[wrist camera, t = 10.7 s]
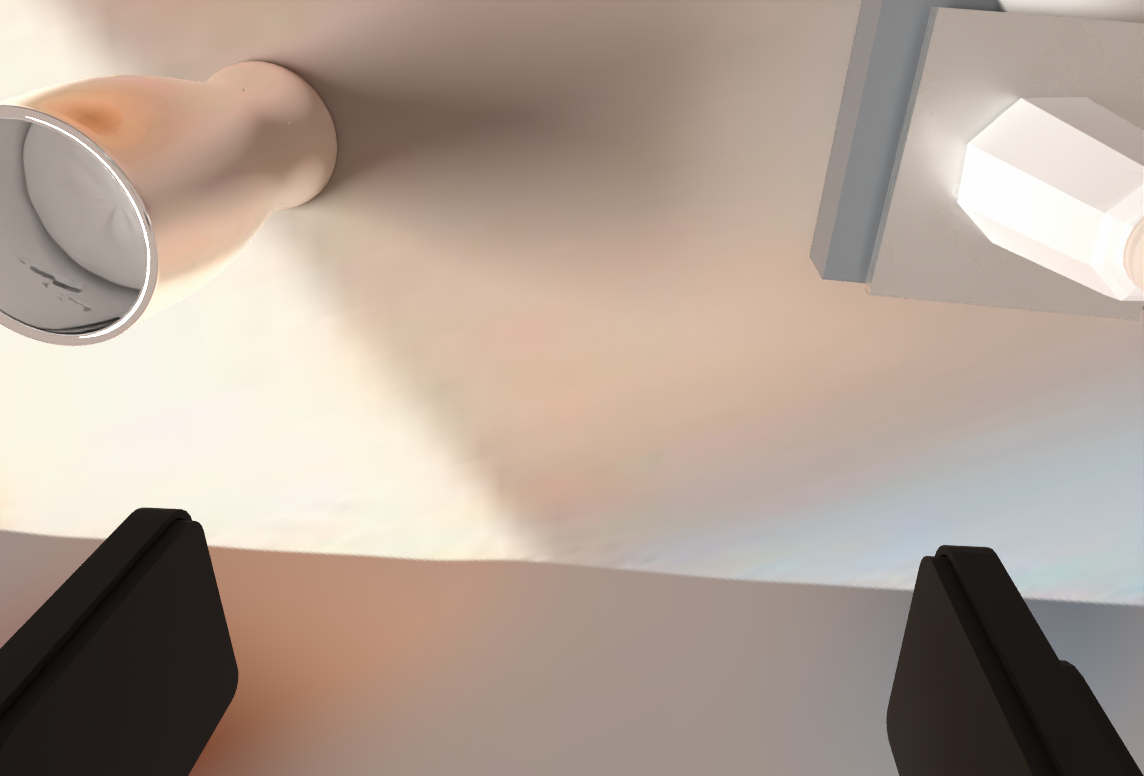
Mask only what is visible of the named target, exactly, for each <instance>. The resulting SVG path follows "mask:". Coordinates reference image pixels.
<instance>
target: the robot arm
mask: <svg viewBox="0 0 1144 776" xmlns="http://www.w3.org/2000/svg"><path fill="white" fill-rule="evenodd" d="M237 684H238V668H237V664H236V660H235V656H234V652H233V648H232V644H231V639H230V636H229V631H228V627H227V623H226V619H225V615H224V611H223V607H222V603H221V599H220V595H219V591H218V587H217V583H216V579H215V575H214V571H213V567H212V563H211V559H210V555H209V551H208V546H207V542H206V538H205V534H204V530H203V528H202V525H201V524H200V523H199V522H197V521H192V519H191V516H190V515H189V514H188V513H187V511H184V510H182V509H163V508H139V509H137V510H135V511H134V512H133V513H131V514H130V515H129V516H128V517H127V518H126V520H125V521H124V522H123V523H122V524H121V525H120V526H119V527H118V528H117V529H116V530H115V531H114V532H113V533H112V534H111V535H110V536H109V537H108V538H107V539H106V540H105V541H104V542H103V543H102V544H101V545H100V546H99V548H98V549H97V550H96V551H95V552H94V553H93V554H92V555H91V556H90V557H89V558H88V559H87V560H86V561H85V562H84V563H83V564H82V565H81V566H80V567H79V568H78V569H77V570H76V571H75V572H74V573H73V574H72V575H71V576H70V578H69V579H67V580H66V582H65V583H64V584H63V585H62V586H61V587H60V588H59V589H58V590H57V591H56V592H55V593H54V594H53V595H52V596H51V597H50V598H49V599H48V600H47V601H46V602H45V603H44V604H43V605H42V606H41V607H40V608H39V609H38V610H37V611H36V612H35V613H34V615H33V616H32V617H31V618H30V619H29V620H28V621H27V622H26V623H25V624H24V625H23V626H22V627H21V628H20V629H19V630H18V631H17V632H16V633H15V634H14V635H13V636H12V637H11V638H10V639H9V640H8V641H7V643H5V644H4V646H3V647H2V648H1V649H0V776H188V775H189V773H190V772H191V770H192V768H193V766H194V765H195V763H196V761H197V759H198V758H199V756H200V754H201V753H202V751H203V749H204V747H205V746H206V744H207V742H208V741H209V739H210V737H211V735H212V734H213V732H214V730H215V728H216V727H217V725H218V723H219V722H220V720H221V718H222V717H223V715H224V713H225V711H226V709H227V708H228V706H229V704H230V703H231V701H232V699H233V697H234V695H235V692H236V689H237ZM887 732H888V739H889V743H890V746H891V750H892V753H893V756H894V759H895V763H896V766H897V769H898V772H899V776H1143V774H1142V773H1141V771H1140V769H1139V768H1138V766H1137V764H1136V763H1135V761H1134V760H1133V758H1132V756H1131V755H1130V753H1129V751H1128V750H1127V748H1126V746H1125V745H1124V743H1123V742H1122V740H1121V738H1120V737H1119V735H1118V733H1117V732H1116V730H1115V728H1114V727H1113V725H1112V724H1111V722H1110V720H1109V719H1108V717H1107V715H1106V714H1105V712H1104V711H1103V709H1102V707H1101V706H1100V704H1099V702H1098V701H1097V699H1096V697H1095V696H1094V694H1093V692H1092V691H1091V689H1090V687H1089V686H1088V684H1087V683H1086V681H1085V679H1084V678H1083V676H1081V674H1080V673H1079V671H1078V670H1077V669H1076V668H1075V666H1073V665H1072V664H1070V663H1069V662H1067V661H1062V660H1059V659H1058V657H1057V656H1056V654H1055V652H1054V650H1053V649H1052V647H1051V645H1050V644H1049V642H1048V640H1047V639H1046V637H1045V635H1044V634H1043V632H1042V630H1041V629H1040V627H1039V625H1038V623H1037V622H1036V620H1035V618H1034V617H1033V615H1032V613H1031V612H1030V610H1029V608H1028V606H1027V605H1026V603H1025V601H1024V600H1023V598H1022V596H1021V595H1020V593H1019V591H1018V590H1017V588H1016V586H1015V585H1014V583H1013V581H1012V579H1011V578H1010V576H1009V574H1008V573H1007V571H1006V569H1005V568H1004V566H1003V564H1002V563H1001V561H1000V559H999V557H998V556H997V554H996V553H995V552H994V551H993V549H991V548H988V547H972V546H951V545H943V546H940V547H939V548H938V550H937V551H936V554H935V556H925V557H923V559H922V560H921V563H920V566H919V571H918V575H917V580H916V584H915V589H914V593H913V598H912V602H911V607H910V611H909V615H908V620H907V624H906V629H905V634H904V638H903V642H902V647H901V651H900V656H899V660H898V665H897V669H896V674H895V679H894V683H893V687H892V692H891V696H890V700H889V705H888V710H887Z"/></svg>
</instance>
